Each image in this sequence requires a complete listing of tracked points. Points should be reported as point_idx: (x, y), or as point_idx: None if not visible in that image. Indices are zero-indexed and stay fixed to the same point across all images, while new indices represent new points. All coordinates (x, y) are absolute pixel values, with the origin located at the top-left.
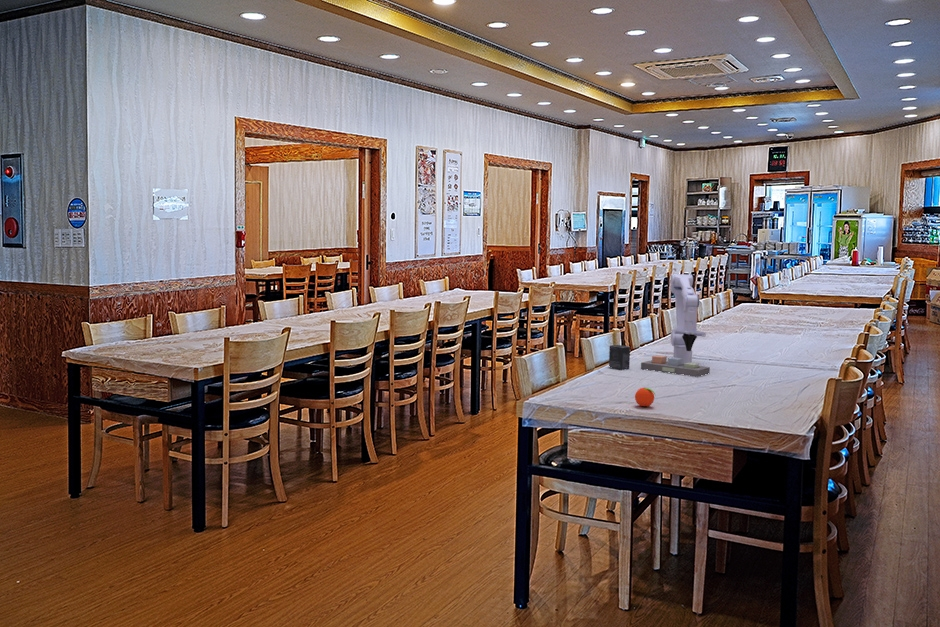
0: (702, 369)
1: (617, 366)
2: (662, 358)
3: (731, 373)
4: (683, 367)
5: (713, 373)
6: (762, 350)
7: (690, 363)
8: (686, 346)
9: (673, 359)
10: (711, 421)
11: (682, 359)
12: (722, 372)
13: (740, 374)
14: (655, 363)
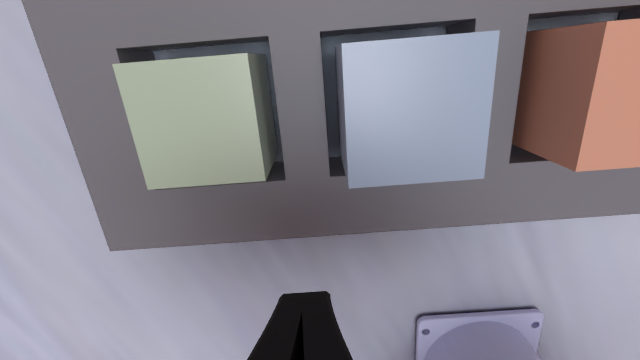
0: (57, 94)
1: None
2: (587, 49)
3: (80, 343)
4: (240, 17)
5: (139, 259)
6: None
7: (209, 128)
8: (324, 339)
9: (408, 38)
10: None
11: (347, 181)
12: (137, 333)
13: (26, 353)
14: (614, 2)
